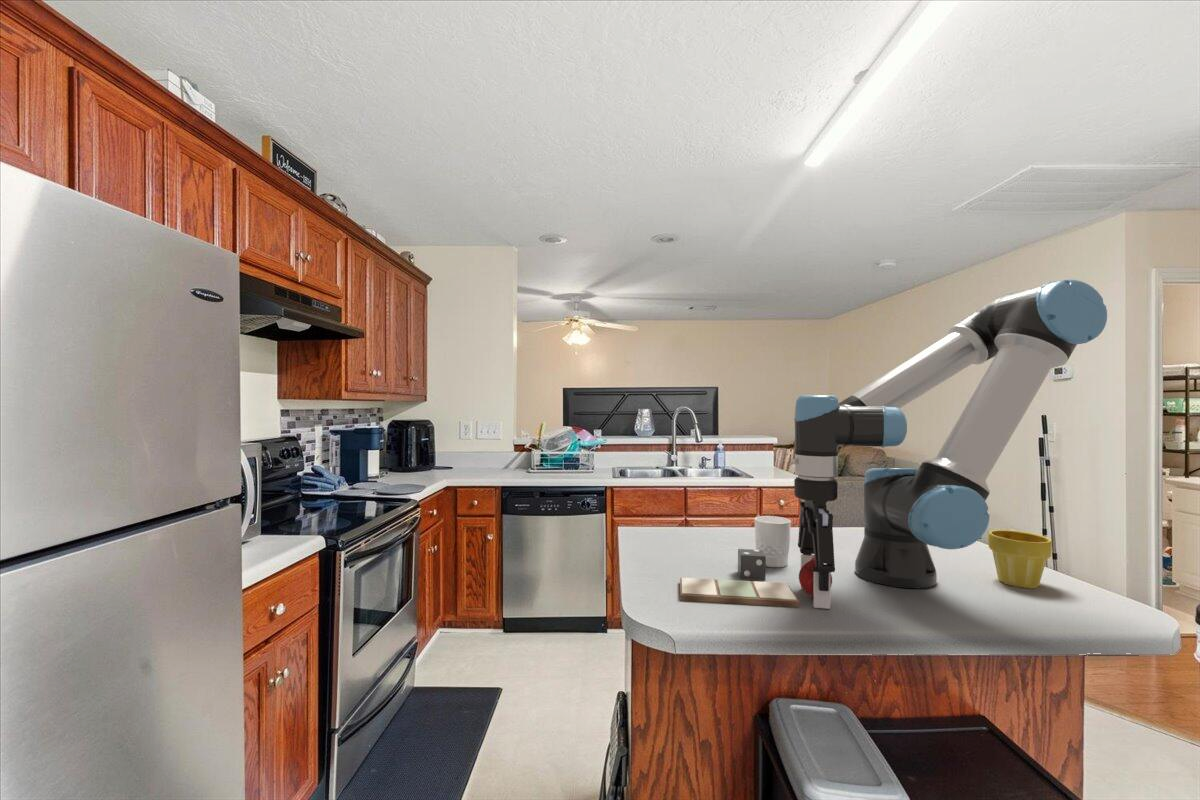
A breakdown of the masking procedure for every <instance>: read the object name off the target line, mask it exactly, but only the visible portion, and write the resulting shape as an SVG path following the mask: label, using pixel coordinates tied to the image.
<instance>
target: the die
mask: <svg viewBox="0 0 1200 800" xmlns="http://www.w3.org/2000/svg"><path fill="white" fill-rule="evenodd" d="M766 567H767V566H766V556H765V554H764V553H763V551H762V550H756V549H752V548H751V549H750V548H738V550H737V573H738V576H739V579H740V580H751V581H757V580H758V581H766Z"/></svg>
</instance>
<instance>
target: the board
mask: <svg viewBox="0 0 1200 800" xmlns="http://www.w3.org/2000/svg"><path fill="white" fill-rule="evenodd" d="M679 587H680V588H679V590H680V593H679V595H680V601H683V602H701V603H702V602H703V603H716V604H717V603H719V604H733V605H734V604H738V605H752V606H753V605H754V606H770V607H771V606H774V607H791V608H800V601H799V599H798V598H797V596H796V594H795V593H794V591H793V590H792V588H791V586H790V585H789V583H787V582H778V581H777V582H775V581H774V582H773V581H759V580H758V581H757V580H751V581H750V580H739V579H738V580H737V579H735V580H733V579H714V578H700V577H699V578H696V577H680V578H679Z"/></svg>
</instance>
